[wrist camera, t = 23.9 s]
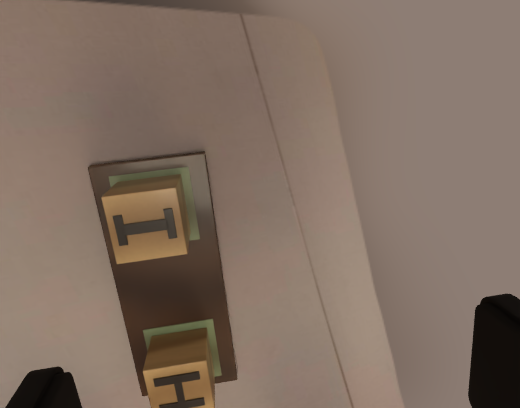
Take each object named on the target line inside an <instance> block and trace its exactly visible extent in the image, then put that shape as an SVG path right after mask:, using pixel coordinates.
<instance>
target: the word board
mask: <svg viewBox="0 0 520 408" xmlns="http://www.w3.org/2000/svg"><path fill="white" fill-rule="evenodd" d="M88 170H89V175H90V179H91V183H92V187H93V191H94V196H95V200H96V204H97V208H98V212H99V217H100V221H101V225H102V229H103V233H104V237H105V242H106V246H107V250H108V254H109V258H110V263H111V267H112V271H113V275H114V279H115V283H116V288H117V292H118V296H119V300H120V304H121V309H122V313H123V317H124V321H125V325H126V330H127V334H128V338H129V342H130V346H131V350H132V355H133V359H134V363H135V367H136V371H137V376H138V380H139V384H140V388H141V392H142V396H147V395H148V392H147V388H146V383H145V379H144V375H143V368H144V364H145V360H146V356H147V352H148V348H149V344H150V339H151V336H156V335H163V334H169V333H175V332H181V331H188V330H194V329H200V328H207V331H208V337H209V343H210V349H211V355H212V361H213V367H214V383H221V382H227V381H233V380H237V371H236V364H235V357H234V350H233V343H232V337H231V330H230V323H229V316H228V309H227V302H226V295H225V288H224V281H223V274H222V267H221V260H220V253H219V247H218V240H217V233H216V226H215V219H214V212H213V205H212V198H211V191H210V184H209V177H208V170H207V163H206V156H205V152H196V153H188V154H180V155H171V156H163V157H155V158H146V159H138V160H129V161H121V162H113V163H104V164H96V165H91V166H89V167H88ZM176 174H181V177H182V183H183V189H184V195H185V201H186V207H187V213H188V219H189V225H190V231H191V233H190V240H189V247H188V254H184V255H177V256H170V257H163V258H157V259H150V260H143V261H136V262H129V263H122V264H117V262H116V258H115V254H114V250H113V245H112V241H111V237H110V233H109V228H108V224H107V220H106V216H105V211H104V207H103V203H102V199H101V197H102V196H103V195H104V194H105V193H106V192H107V191H108V190H109V189H110V188H111V187H112V186H113V185H114V184H115V183H116V182H120V181H128V180H136V179H144V178H152V177H160V176H168V175H176Z"/></svg>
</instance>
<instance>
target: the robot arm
mask: <svg viewBox="0 0 520 408" xmlns="http://www.w3.org/2000/svg"><path fill="white" fill-rule="evenodd" d="M468 396H469V401H470V404H471V406H472V408H520V300H519V299H518V298H517V297H515V296H513V295H511V294H502V295H496V296H490V297H485V298H483V299H482V300H481V303H480V305H478V306H477V307H476V310H475V319H474V331H473V344H472V357H471V368H470V380H469V392H468ZM6 408H82V406H81V402H80V399H79V396H78V392H77V389H76V386H75V383H74V379H73V376H72V374H71V373H70V372H66V373H64V371H63V369H62V368H61V367H53V368H47V369H40V370H34V371H31V372H29V373H28V374H27V375H26V377H25V378H24V380H23V381H22V383H21V384H20V386H19V387H18V389H17V391H16V392H15V394H14V395H13V397H12V398H11V400H10V401H9V403H8V404H7V406H6Z"/></svg>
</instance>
